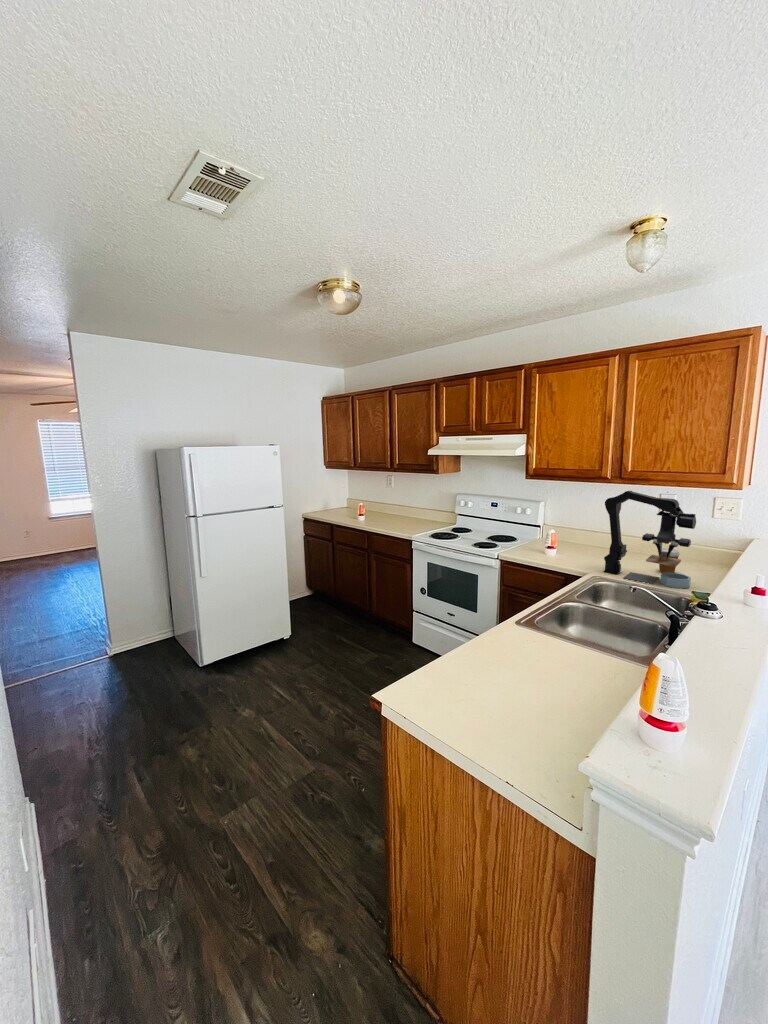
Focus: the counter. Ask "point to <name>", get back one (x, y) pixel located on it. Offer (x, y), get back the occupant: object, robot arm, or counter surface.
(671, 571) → the disposable coffee cup
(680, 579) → the bowl
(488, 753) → the counter surface
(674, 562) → the cover
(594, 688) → the counter surface
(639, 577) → the mat
